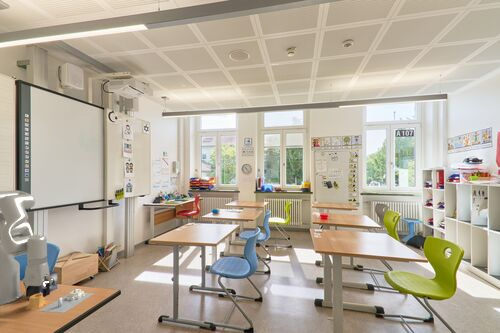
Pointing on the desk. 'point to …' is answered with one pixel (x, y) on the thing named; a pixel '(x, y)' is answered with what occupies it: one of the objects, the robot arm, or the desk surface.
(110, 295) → the desk surface
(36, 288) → the small box
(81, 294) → the cream gear
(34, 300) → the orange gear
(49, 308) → the gear board
